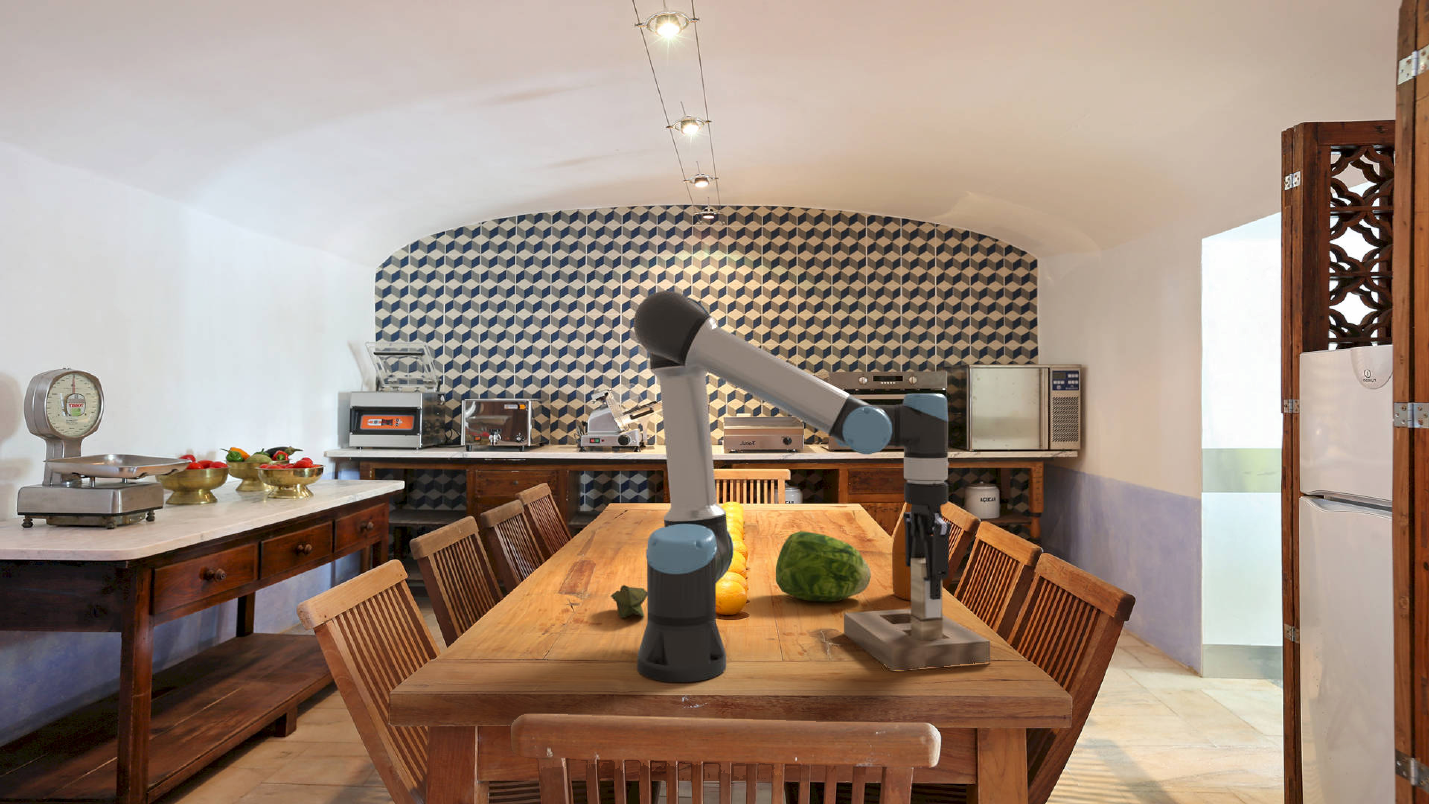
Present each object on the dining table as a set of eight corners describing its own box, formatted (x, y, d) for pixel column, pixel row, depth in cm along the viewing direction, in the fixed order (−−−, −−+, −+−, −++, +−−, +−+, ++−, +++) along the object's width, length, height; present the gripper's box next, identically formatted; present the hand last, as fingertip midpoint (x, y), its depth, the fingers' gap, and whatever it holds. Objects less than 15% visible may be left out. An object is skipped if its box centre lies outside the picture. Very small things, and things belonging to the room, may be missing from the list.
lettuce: (867, 623, 175) (887, 554, 177) (774, 592, 175) (795, 524, 177) (850, 613, 191) (869, 550, 193) (765, 585, 191) (785, 522, 193)
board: (892, 672, 137) (892, 648, 137) (843, 633, 159) (844, 613, 159) (990, 664, 141) (990, 641, 141) (929, 627, 163) (929, 607, 163)
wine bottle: (937, 603, 181) (938, 467, 180) (892, 601, 183) (892, 466, 182) (935, 592, 191) (935, 463, 190) (891, 590, 193) (892, 462, 192)
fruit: (667, 614, 173) (666, 582, 173) (633, 628, 163) (633, 595, 163) (623, 606, 179) (623, 576, 179) (588, 620, 169) (588, 588, 168)
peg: (921, 643, 143) (921, 563, 142) (910, 636, 147) (910, 558, 146) (942, 641, 143) (942, 561, 143) (931, 634, 147) (931, 557, 147)
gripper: (970, 485, 137) (970, 625, 137) (923, 475, 154) (923, 599, 154) (929, 487, 135) (929, 628, 136) (885, 476, 152) (886, 602, 152)
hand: (926, 613), depth 145 cm, fingers closed on peg, 4 cm apart
